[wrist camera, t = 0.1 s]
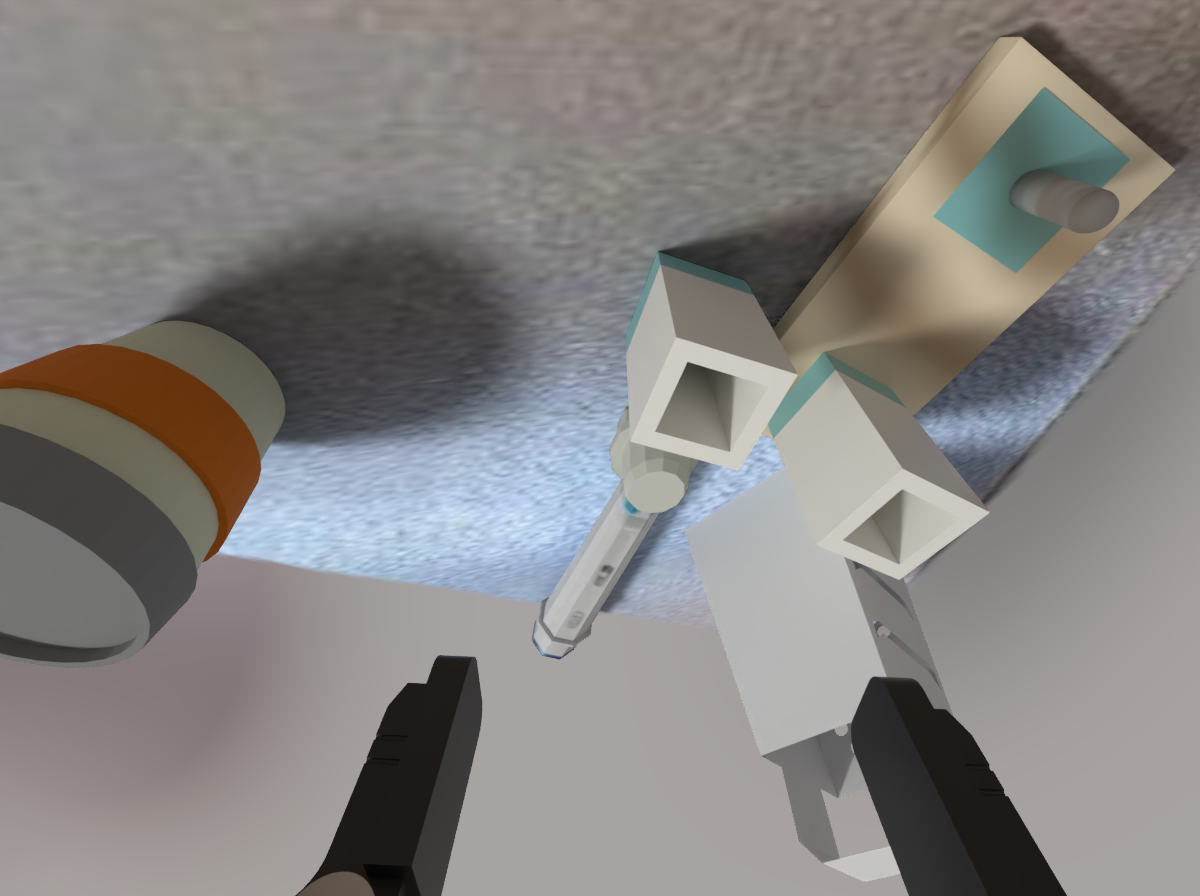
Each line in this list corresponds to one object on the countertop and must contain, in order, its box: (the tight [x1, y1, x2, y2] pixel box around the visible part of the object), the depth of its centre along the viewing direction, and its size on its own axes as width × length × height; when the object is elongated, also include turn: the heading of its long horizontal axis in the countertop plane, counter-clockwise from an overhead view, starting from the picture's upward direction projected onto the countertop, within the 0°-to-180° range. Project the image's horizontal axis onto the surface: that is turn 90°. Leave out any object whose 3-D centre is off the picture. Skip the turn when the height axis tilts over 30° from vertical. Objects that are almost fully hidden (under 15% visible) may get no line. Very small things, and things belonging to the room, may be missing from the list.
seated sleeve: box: [768, 352, 990, 580], centre depth 27 cm, size 5×5×10 cm
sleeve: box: [626, 252, 798, 471], centre depth 25 cm, size 5×5×10 cm
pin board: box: [762, 37, 1175, 440], centre depth 26 cm, size 20×10×6 cm, turn 152°
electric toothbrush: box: [532, 407, 700, 659], centre depth 38 cm, size 5×7×25 cm
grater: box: [685, 466, 953, 882], centre depth 32 cm, size 10×10×20 cm
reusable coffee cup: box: [0, 321, 285, 668], centre depth 27 cm, size 12×13×15 cm
